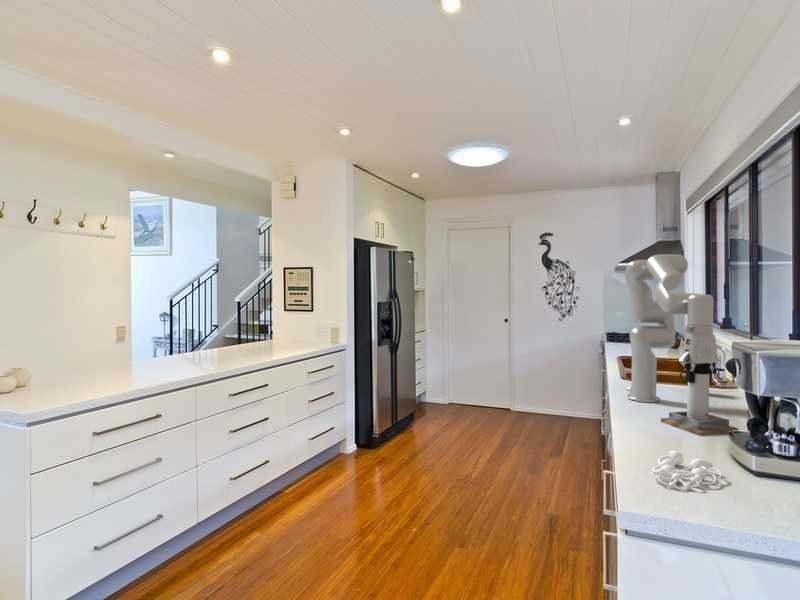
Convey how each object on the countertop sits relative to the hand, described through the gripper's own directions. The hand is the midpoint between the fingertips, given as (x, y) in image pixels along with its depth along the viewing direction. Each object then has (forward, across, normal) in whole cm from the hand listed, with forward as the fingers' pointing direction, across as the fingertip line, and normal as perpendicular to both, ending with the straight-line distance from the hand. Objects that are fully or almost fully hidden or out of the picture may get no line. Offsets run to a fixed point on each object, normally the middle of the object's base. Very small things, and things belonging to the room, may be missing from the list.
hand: (698, 381), depth 162 cm
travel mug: (+14, 0, 0) cm, 14 cm away
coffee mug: (+16, +44, +44) cm, 64 cm away
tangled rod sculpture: (+16, -40, -35) cm, 56 cm away
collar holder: (+16, 0, 0) cm, 16 cm away
